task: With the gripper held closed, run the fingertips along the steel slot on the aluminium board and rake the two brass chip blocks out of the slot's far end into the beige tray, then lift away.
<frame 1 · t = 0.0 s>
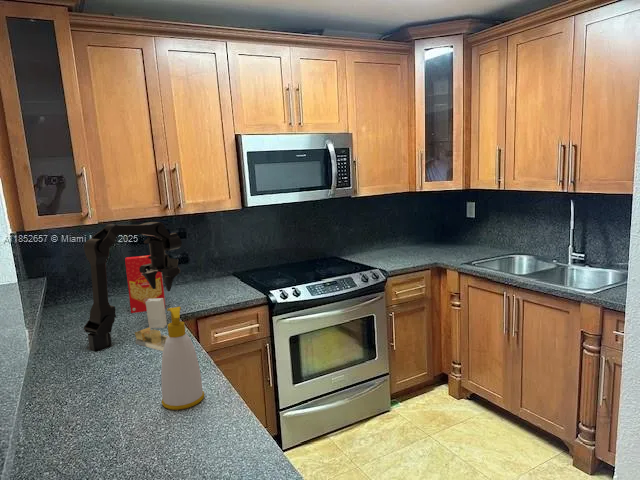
hand: (161, 290, 180), 15 cm above the worktop, tool pointing down, fingers open, 9 cm apart
slot board: (159, 345, 160), on the worktop
chip b: (153, 342, 162), point 1 cm above the worktop, touching slot board
skincare box: (157, 328, 179), on the worktop
chip a: (145, 340, 164), point 1 cm above the worktop, tilted 20°
soap bottle: (183, 400, 120), on the worktop
food packaging: (148, 309, 205), on the worktop
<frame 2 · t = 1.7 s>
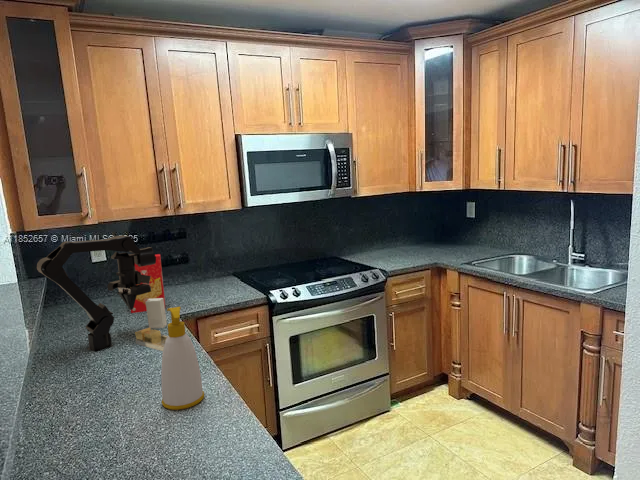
hand: (131, 309, 166), 12 cm above the worktop, tool pointing down, fingers closed
chip a: (145, 340, 164), point 1 cm above the worktop, tilted 18°, touching slot board
everything else where it was.
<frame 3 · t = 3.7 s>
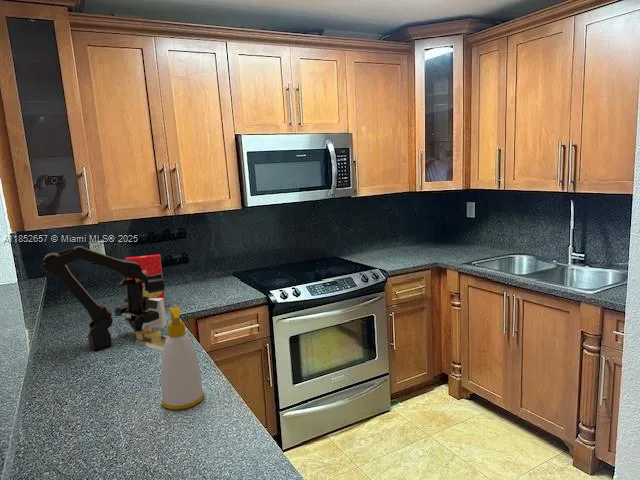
hand: (138, 335, 166), 2 cm above the worktop, tool pointing down, fingers closed
chip a: (145, 340, 164), point 1 cm above the worktop, tilted 11°, touching gripper, slot board
everything else where it was.
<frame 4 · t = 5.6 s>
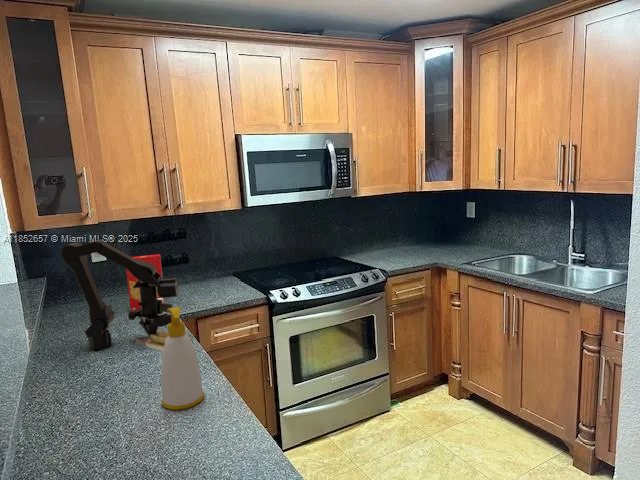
hand: (152, 339, 161), 2 cm above the worktop, tool pointing down, fingers closed
chip b: (166, 345, 157), point 1 cm above the worktop, touching chip a, slot board
chip a: (159, 343, 160), point 1 cm above the worktop, touching chip b, gripper, slot board
everything else where it was.
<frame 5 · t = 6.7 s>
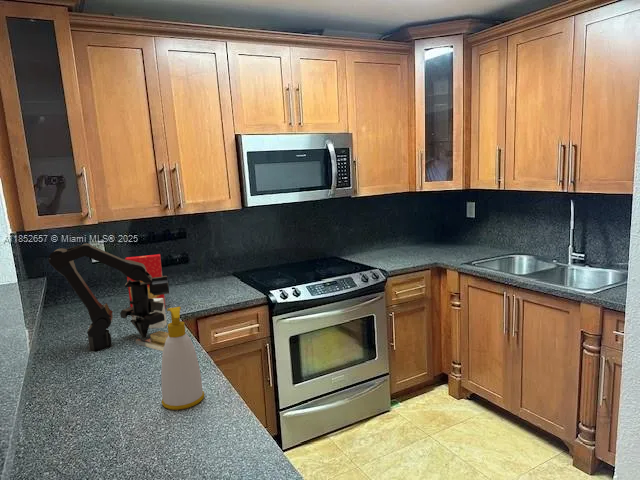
hand: (144, 337, 164), 2 cm above the worktop, tool pointing down, fingers closed
chip b: (166, 345, 157), point 1 cm above the worktop, touching slot board
chip a: (159, 343, 160), point 1 cm above the worktop, touching slot board
everything else where it was.
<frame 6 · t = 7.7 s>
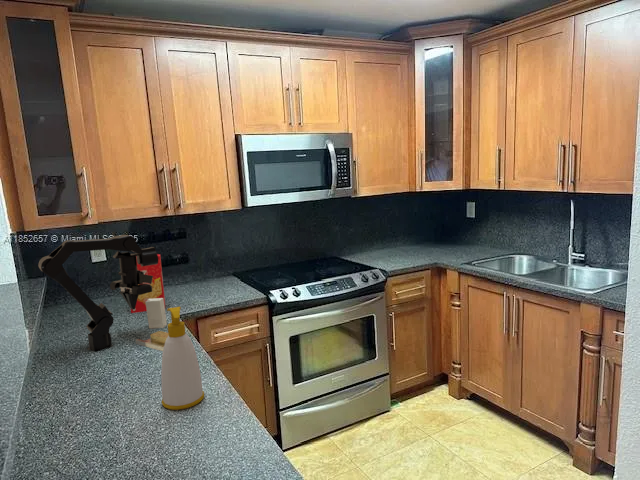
hand: (133, 309, 165), 12 cm above the worktop, tool pointing down, fingers closed
nothing on the worktop moved.
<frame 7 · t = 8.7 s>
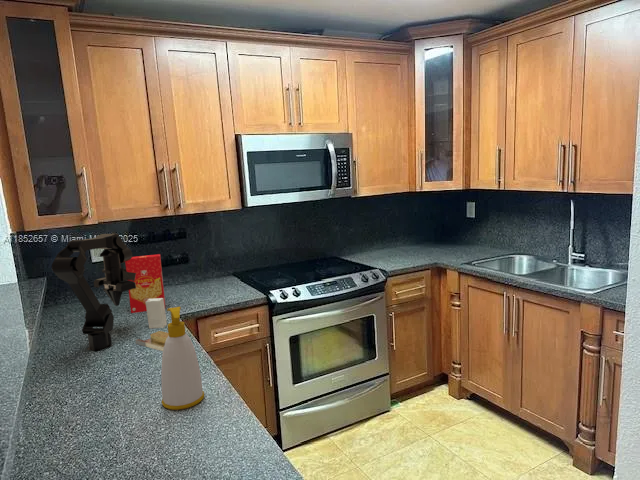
hand: (117, 305, 170), 12 cm above the worktop, tool pointing down, fingers closed
nothing on the worktop moved.
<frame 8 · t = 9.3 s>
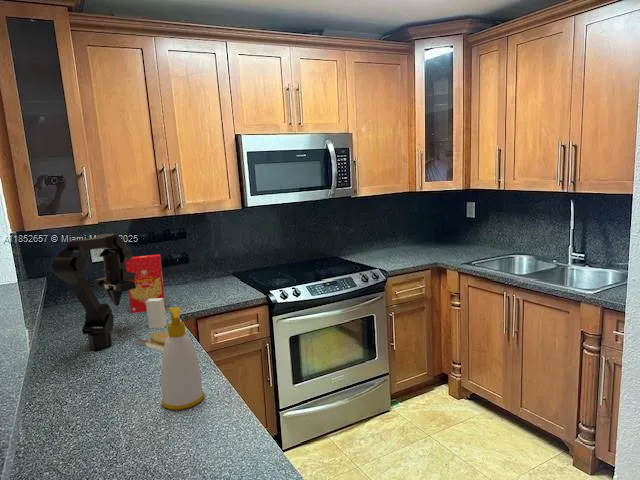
hand: (117, 305, 170), 12 cm above the worktop, tool pointing down, fingers closed
nothing on the worktop moved.
at the end: chip a inside the target area on the slot board (2.0 cm from its centre), point 0.6 cm above the slot board's base; chip b inside the target area on the slot board (2.0 cm from its centre), point 0.6 cm above the slot board's base; chip a moved 8.2 cm from its start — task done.
